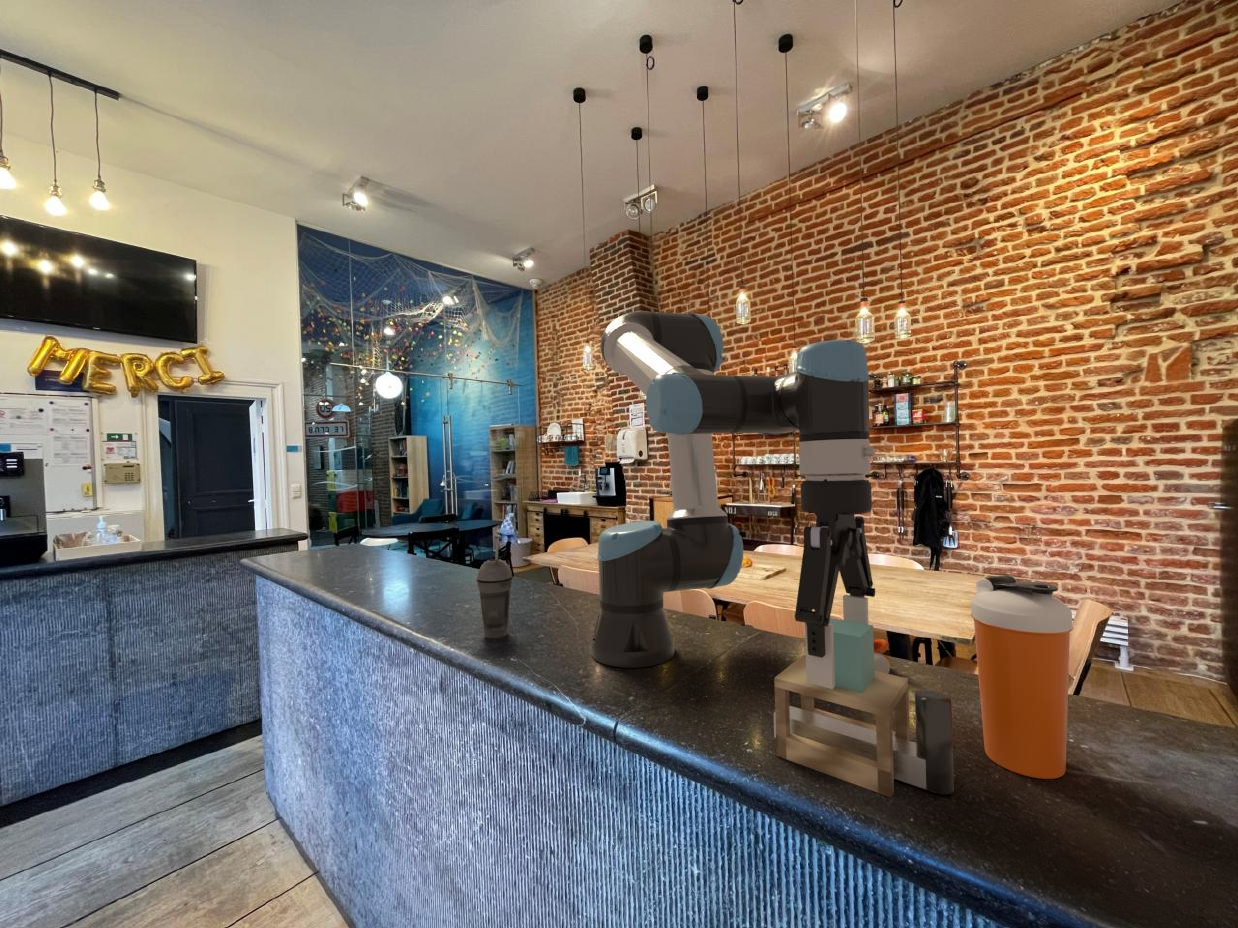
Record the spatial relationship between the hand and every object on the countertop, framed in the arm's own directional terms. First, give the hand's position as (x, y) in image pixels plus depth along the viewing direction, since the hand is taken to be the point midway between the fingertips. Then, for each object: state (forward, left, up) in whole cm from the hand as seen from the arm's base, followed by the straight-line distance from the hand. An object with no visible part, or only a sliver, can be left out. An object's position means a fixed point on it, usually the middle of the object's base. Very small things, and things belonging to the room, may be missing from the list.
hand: (840, 665), depth 58 cm
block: (0, 0, -1) cm, 2 cm away
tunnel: (0, 0, -10) cm, 10 cm away
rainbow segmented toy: (-6, +27, -11) cm, 29 cm away
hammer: (+1, 0, -10) cm, 10 cm away
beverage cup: (-69, +2, -11) cm, 70 cm away
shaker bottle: (+16, +12, -11) cm, 22 cm away
